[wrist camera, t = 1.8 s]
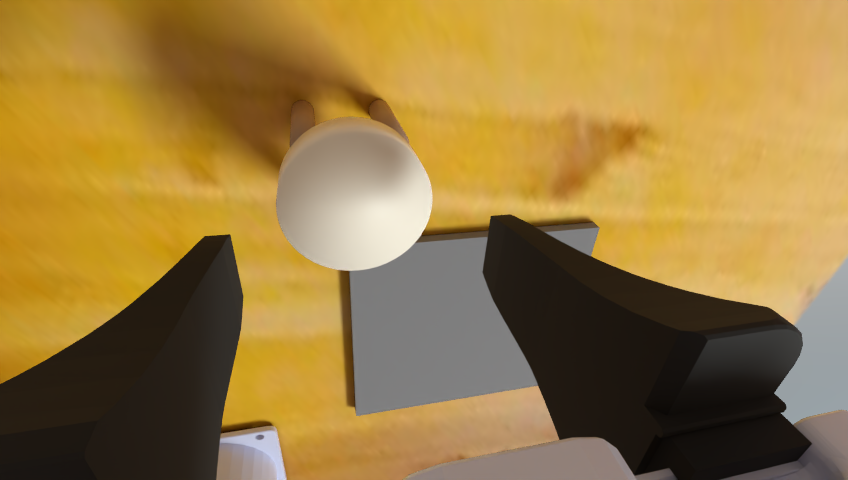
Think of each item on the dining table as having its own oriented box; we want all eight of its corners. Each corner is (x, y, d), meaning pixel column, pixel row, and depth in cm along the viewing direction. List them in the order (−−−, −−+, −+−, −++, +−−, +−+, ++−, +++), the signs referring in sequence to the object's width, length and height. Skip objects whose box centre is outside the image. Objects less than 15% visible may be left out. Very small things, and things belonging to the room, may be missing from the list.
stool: (288, 202, 20) (285, 277, 16) (274, 86, 18) (265, 134, 13) (399, 196, 22) (427, 263, 17) (402, 86, 19) (437, 130, 14)
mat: (355, 408, 29) (356, 416, 29) (347, 241, 22) (348, 248, 22) (548, 376, 32) (552, 383, 32) (593, 222, 25) (599, 227, 25)
